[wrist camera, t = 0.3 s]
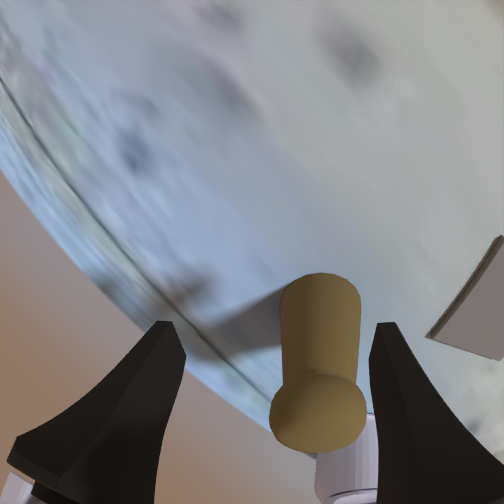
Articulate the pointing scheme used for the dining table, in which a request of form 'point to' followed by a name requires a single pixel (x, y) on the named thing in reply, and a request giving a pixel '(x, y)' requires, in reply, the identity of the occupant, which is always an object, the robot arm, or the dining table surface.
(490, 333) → the slate coaster
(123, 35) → the dining table surface
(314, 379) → the cork
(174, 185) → the dining table surface
